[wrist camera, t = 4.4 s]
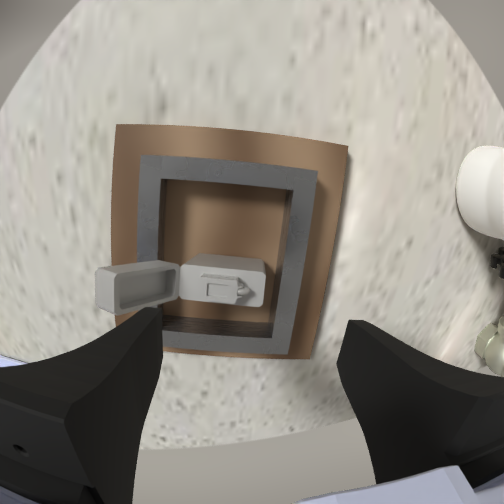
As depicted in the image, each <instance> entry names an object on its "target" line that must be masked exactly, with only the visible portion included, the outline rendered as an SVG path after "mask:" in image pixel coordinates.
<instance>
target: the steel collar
mask: <svg viewBox="0 0 504 504" xmlns="http://www.w3.org/2000/svg"><path fill="white" fill-rule="evenodd" d="M317 175H318V171H316V170H311V169H304V168H297V167H289V166H281V165H273V164H265V163H256V162H246V161H236V160H225V159H213V158H200V157H185V156H167V155H141V159H140V173H139V191H138V215H137V263H139V262H147V261H155V260H161V261H164V234H165V212H166V194H167V180H168V179H178V180H192V181H206V182H218V183H229V184H240V185H251V186H260V187H270V188H279V189H286V197H285V204H284V212H283V220H282V228H281V235H280V242H279V250H278V257H277V264H276V271H275V278H274V285H273V292H272V299H271V306H270V313H269V320H268V323H267V322H249V321H233V320H219V319H206V318H194V317H183V316H173V315H163V303H162V304H158V305H154V306H151V307H153V308H162V335H163V346H164V347H173V348H183V349H194V350H206V351H220V352H236V353H256V354H288V350H289V345H290V340H291V335H292V330H293V325H294V320H295V314H296V309H297V303H298V298H299V292H300V287H301V281H302V275H303V269H304V263H305V257H306V251H307V245H308V238H309V232H310V225H311V218H312V212H313V205H314V197H315V190H316V183H317ZM140 310H141V309H140ZM140 310H138V311H140Z"/></svg>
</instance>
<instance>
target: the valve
mask: <svg viewBox="0 0 504 504" xmlns="http://www.w3.org/2000/svg"><path fill="white" fill-rule="evenodd" d="M497 264H500V268H499V277H500V278H503V279H504V247H501V248H499V252H498V254H492V255H491V264H490V266H491V267H492V268H495V269H496V268H497ZM474 351H475V352H476V353H477V354H478V355H479V356H480V357H481V358H483V359H485V360H486V363H487V366H488V367H489V369H490V370H491V371H493V372H494V373H495V374H498V375H501V377H504V316H502V317H501V318H500V319H499V324H498V326H497V325H494V324H492V323H490V324H488V325H487V326H486V327H485V328H484V329H483V330H482V331H481V332H480V333H479V335H478V336H477V340H476V344H475V349H474Z"/></svg>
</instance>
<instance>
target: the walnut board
mask: <svg viewBox="0 0 504 504" xmlns="http://www.w3.org/2000/svg"><path fill="white" fill-rule="evenodd" d="M347 153H348V146H345V145H340V144H335V143H329V142H323V141H317V140H311V139H305V138H299V137H292V136H285V135H277V134H270V133H261V132H253V131H243V130H233V129H222V128H209V127H195V126H176V125H142V124H116V133H115V144H114V157H113V174H112V198H111V257H112V266H116V265H124V264H131V263H137V215H138V191H139V173H140V159H141V155H167V156H185V157H200V158H213V159H225V160H236V161H246V162H256V163H265V164H273V165H281V166H289V167H297V168H304V169H311V170H316V171H318V175H317V183H316V190H315V197H314V205H313V212H312V218H311V225H310V232H309V238H308V245H307V251H306V257H305V263H304V269H303V275H302V281H301V287H300V292H299V298H298V303H297V309H296V314H295V320H294V325H293V330H292V335H291V340H290V345H289V350H288V354H256V353H236V352H220V351H206V350H194V349H183V348H173V347H164V346H163V351H167V352H177V353H187V354H198V355H211V356H225V357H243V358H267V359H310V355H311V351H312V347H313V343H314V339H315V334H316V330H317V326H318V321H319V317H320V312H321V307H322V303H323V298H324V293H325V288H326V283H327V278H328V273H329V268H330V263H331V257H332V252H333V246H334V240H335V235H336V229H337V223H338V217H339V210H340V204H341V197H342V190H343V183H344V176H345V169H346V161H347ZM285 197H286V189H279V188H270V187H260V186H251V185H240V184H229V183H218V182H206V181H192V180H178V179H168V180H167V194H166V212H165V234H164V261H165V262H170V263H175V264H178V265H179V266H180V267H181V266H182V265H183V264H185V263H186V262H187V261H189V260H190V259H192V258H193V257H195V256H196V255H197V254H199V253H204V254H214V255H224V256H235V257H245V258H256V259H262V260H263V261H264V265H265V273H266V279H265V289H264V298H263V304H262V305H261V306H260V307H252V306H241V305H231V304H222V303H212V302H203V301H195V300H186V299H181V297H180V296H178V298H177V299H176V300H172V301H169V302H165V303H163V315H173V316H183V317H194V318H206V319H219V320H233V321H249V322H267V323H268V320H269V313H270V306H271V299H272V292H273V285H274V278H275V271H276V264H277V257H278V250H279V242H280V235H281V228H282V220H283V212H284V204H285ZM137 312H138V310H137V311H133V312H129V313H126V314H122V315H118V316H117V315H115V323H116V327H117V326H118V325H120V324H121V323H123V322H124V321H126V320H127V319H129V318H130V317H131V316H133V315H134V314H135V313H137Z"/></svg>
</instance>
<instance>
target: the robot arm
mask: <svg viewBox="0 0 504 504" xmlns="http://www.w3.org/2000/svg"><path fill="white" fill-rule="evenodd" d="M162 359H163V335H162V308H153V307H144V308H143V309H141V310H140V311H138V312H137V313H135V314H134V315H133V316H131V317H130V318H129V319H127V320H126V321H124V322H123V323H121V324H120V325H118V326H117V327H115V328H114V329H112V330H111V331H109V332H107V333H106V334H104V335H102V336H101V337H99V338H97V339H96V340H94V341H92V342H90V343H88V344H86V345H84V346H81V347H79V348H77V349H75V350H72V351H70V352H67V353H64V354H61V355H58V356H55V357H52V358H49V359H45V360H42V361H38V362H33V363H25V362H21V361H18V360H15V359H11V358H8V357H5V356H2V355H0V504H132V498H133V488H134V479H135V470H136V464H137V457H138V451H139V445H140V439H141V434H142V430H143V426H144V422H145V419H146V416H147V413H148V410H149V407H150V403H151V400H152V397H153V394H154V391H155V388H156V385H157V382H158V379H159V375H160V370H161V364H162ZM336 364H337V368H338V372H339V376H340V379H341V382H342V385H343V388H344V390H345V392H346V395H347V397H348V399H349V401H350V403H351V406H352V408H353V410H354V412H355V414H356V417H357V419H358V421H359V423H360V426H361V428H362V431H363V433H364V436H365V439H366V443H367V446H368V450H369V453H370V457H371V461H372V465H373V469H374V474H375V479H376V485H372V486H367V487H362V488H357V489H351V490H345V491H338V492H331V493H327V494H323V495H319V496H314V497H310V498H305V499H301V500H299V501H297V502H294V503H292V504H504V377H498V376H491V375H486V374H481V373H476V372H472V371H468V370H465V369H462V368H459V367H455V366H452V365H450V364H447V363H444V362H442V361H440V360H437V359H435V358H432V357H430V356H428V355H426V354H424V353H422V352H420V351H418V350H416V349H414V348H412V347H411V346H409V345H407V344H405V343H403V342H402V341H400V340H398V339H397V338H395V337H393V336H392V335H390V334H388V333H386V332H385V331H383V330H381V329H380V328H378V327H376V326H374V325H372V324H371V323H369V322H366V321H364V320H349V321H348V324H347V328H346V332H345V335H344V339H343V343H342V346H341V350H340V353H339V356H338V360H337V363H336Z"/></svg>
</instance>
